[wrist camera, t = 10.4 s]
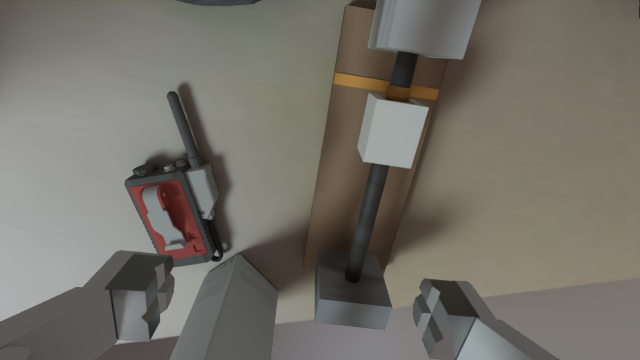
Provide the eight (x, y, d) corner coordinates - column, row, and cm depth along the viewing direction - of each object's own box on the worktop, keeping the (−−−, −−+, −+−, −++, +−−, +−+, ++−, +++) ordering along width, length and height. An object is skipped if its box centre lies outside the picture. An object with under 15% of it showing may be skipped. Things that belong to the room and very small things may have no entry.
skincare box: (206, 272, 39) (145, 393, 25) (242, 250, 37) (198, 364, 24) (248, 312, 41) (214, 440, 28) (283, 292, 40) (265, 417, 26)
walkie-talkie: (241, 250, 38) (187, 87, 30) (232, 274, 34) (166, 93, 26) (175, 260, 38) (104, 103, 31) (158, 285, 34) (72, 111, 27)
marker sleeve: (357, 147, 28) (363, 161, 24) (368, 92, 26) (377, 99, 22) (398, 153, 28) (410, 168, 25) (413, 99, 26) (428, 107, 23)
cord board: (303, 258, 38) (299, 324, 29) (347, -6, 27) (362, -35, 17) (380, 268, 39) (400, 335, 29) (455, 14, 27) (524, -5, 18)
